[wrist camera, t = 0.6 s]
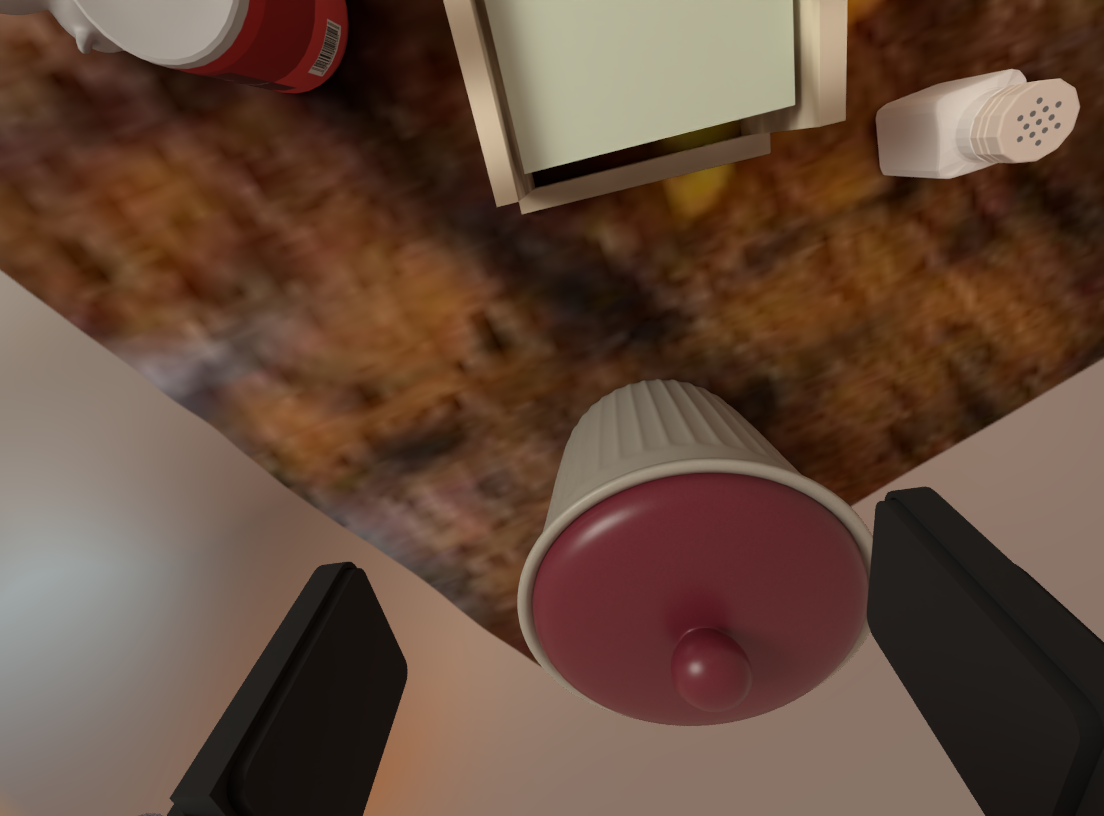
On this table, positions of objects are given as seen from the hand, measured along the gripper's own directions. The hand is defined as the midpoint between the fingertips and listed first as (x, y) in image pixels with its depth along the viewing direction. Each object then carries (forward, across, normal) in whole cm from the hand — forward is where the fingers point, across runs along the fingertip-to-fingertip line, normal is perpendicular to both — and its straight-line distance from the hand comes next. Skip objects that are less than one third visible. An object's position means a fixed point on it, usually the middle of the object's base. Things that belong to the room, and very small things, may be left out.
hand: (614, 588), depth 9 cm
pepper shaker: (+28, -20, -5) cm, 35 cm away
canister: (+29, -3, +14) cm, 32 cm away
